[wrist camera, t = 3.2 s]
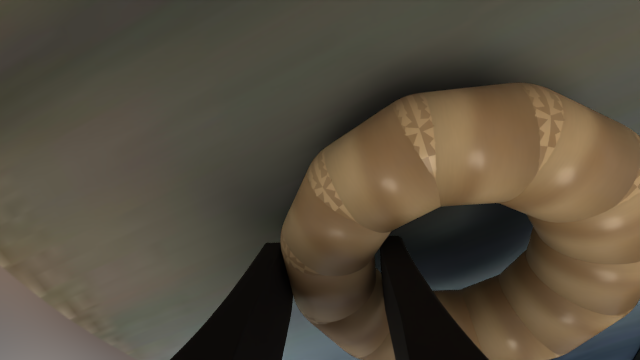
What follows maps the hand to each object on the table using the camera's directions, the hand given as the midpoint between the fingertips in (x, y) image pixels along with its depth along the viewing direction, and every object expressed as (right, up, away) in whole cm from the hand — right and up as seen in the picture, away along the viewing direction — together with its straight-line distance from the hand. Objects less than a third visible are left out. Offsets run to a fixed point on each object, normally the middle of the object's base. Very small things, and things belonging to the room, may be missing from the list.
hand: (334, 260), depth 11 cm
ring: (+4, 0, -1) cm, 4 cm away
